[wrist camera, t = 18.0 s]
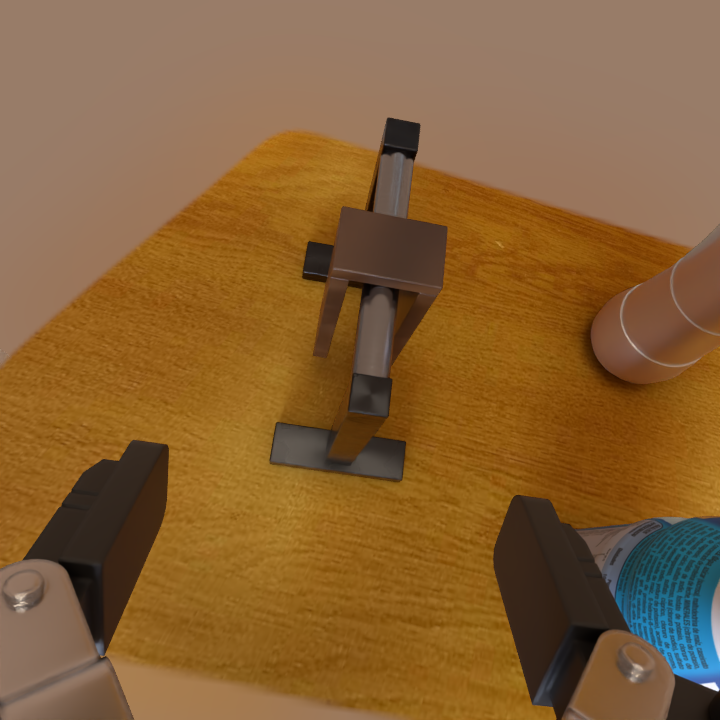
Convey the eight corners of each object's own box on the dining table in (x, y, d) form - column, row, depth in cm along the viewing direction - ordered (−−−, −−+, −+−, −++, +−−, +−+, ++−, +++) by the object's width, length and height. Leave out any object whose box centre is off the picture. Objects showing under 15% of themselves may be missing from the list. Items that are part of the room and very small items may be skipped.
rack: (269, 463, 35) (262, 408, 22) (307, 247, 40) (320, 96, 27) (399, 482, 35) (468, 439, 22) (420, 267, 40) (487, 129, 27)
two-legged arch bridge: (312, 356, 33) (332, 268, 23) (320, 309, 34) (342, 205, 24) (390, 368, 34) (442, 288, 24) (395, 322, 35) (447, 226, 25)
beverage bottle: (486, 540, 35) (726, 523, 16) (612, 516, 36) (964, 476, 18) (522, 694, 32) (854, 887, 14) (654, 662, 34) (1118, 796, 15)
